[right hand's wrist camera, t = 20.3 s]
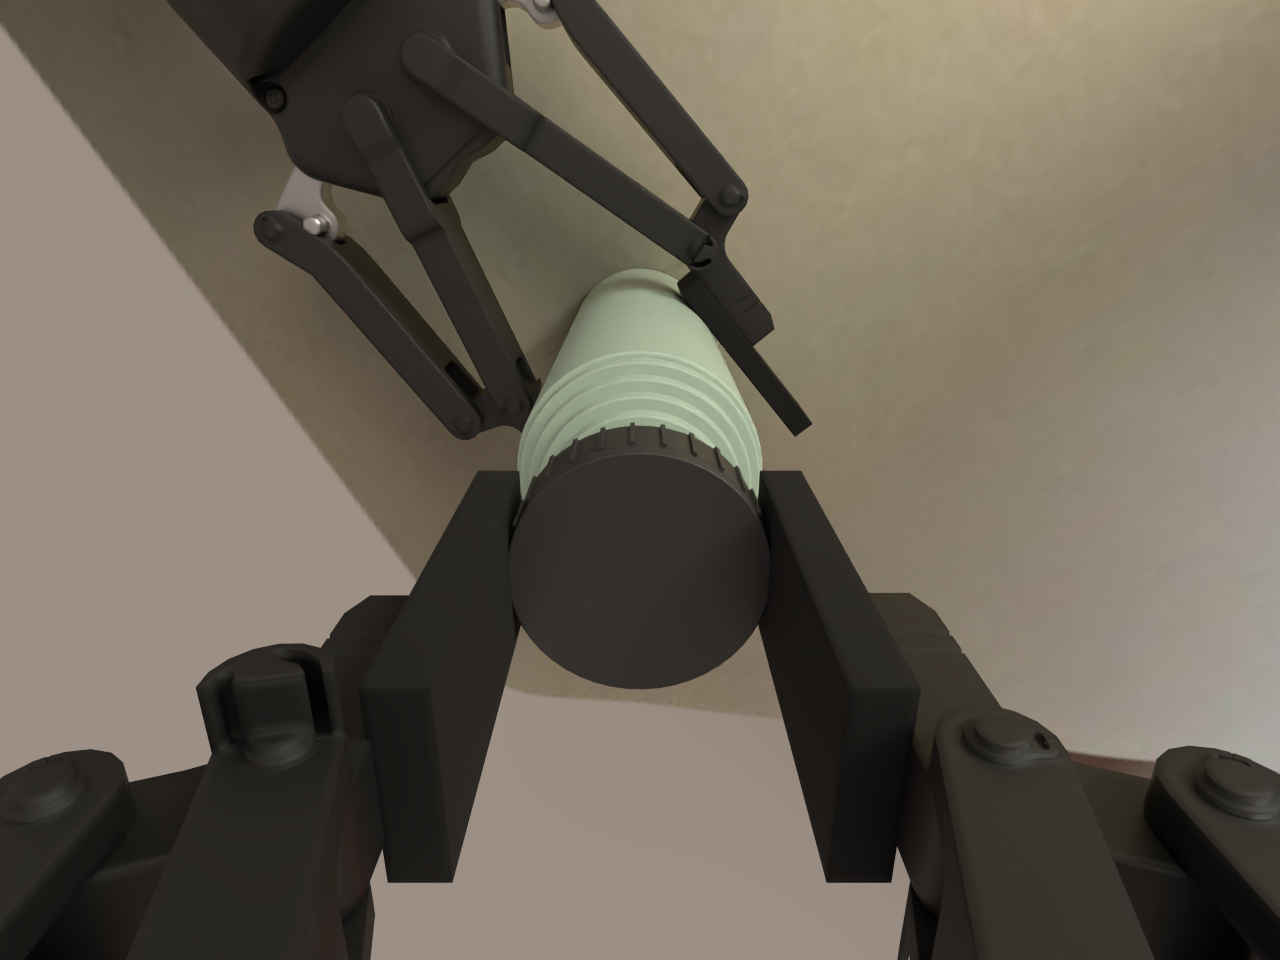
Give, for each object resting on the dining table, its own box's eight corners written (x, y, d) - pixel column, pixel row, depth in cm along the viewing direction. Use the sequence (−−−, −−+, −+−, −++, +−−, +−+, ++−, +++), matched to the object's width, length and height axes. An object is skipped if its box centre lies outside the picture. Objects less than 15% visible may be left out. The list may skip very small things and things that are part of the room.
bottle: (593, 410, 35) (531, 719, 15) (559, 286, 33) (435, 449, 13) (716, 381, 35) (822, 661, 14) (689, 253, 33) (768, 371, 13)
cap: (480, 460, 14) (462, 492, 13) (729, 389, 14) (739, 415, 12) (561, 668, 16) (553, 718, 14) (786, 611, 15) (802, 656, 14)
